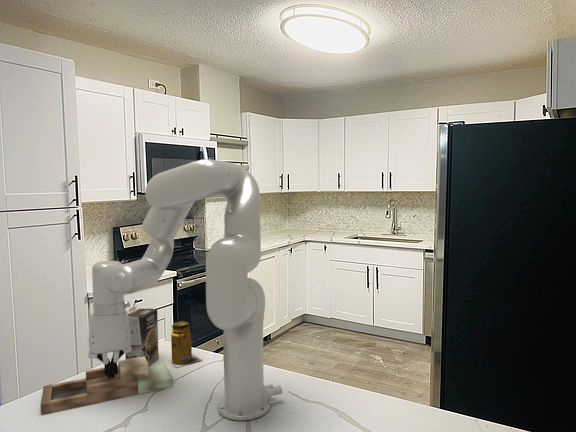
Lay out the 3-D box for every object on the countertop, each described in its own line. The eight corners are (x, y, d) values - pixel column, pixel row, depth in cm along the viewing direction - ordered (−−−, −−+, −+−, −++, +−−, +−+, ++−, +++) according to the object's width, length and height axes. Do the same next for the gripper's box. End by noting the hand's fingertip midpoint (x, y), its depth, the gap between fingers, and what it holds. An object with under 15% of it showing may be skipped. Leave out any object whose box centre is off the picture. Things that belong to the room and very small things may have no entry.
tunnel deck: (165, 371, 125) (164, 356, 125) (173, 386, 116) (172, 370, 115) (43, 395, 111) (43, 378, 111) (41, 415, 102) (40, 396, 101)
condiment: (167, 360, 134) (166, 322, 133) (192, 354, 139) (191, 317, 138) (176, 368, 128) (175, 328, 127) (202, 361, 133) (201, 323, 132)
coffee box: (144, 370, 127) (142, 316, 126) (124, 368, 128) (123, 315, 127) (159, 358, 135) (158, 308, 135) (141, 357, 137) (139, 307, 136)
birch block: (144, 370, 121) (144, 356, 120) (148, 378, 115) (148, 363, 115) (118, 374, 118) (118, 360, 117) (120, 383, 112) (120, 368, 112)
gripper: (136, 301, 119) (138, 365, 120) (77, 308, 112) (79, 376, 114) (140, 308, 113) (142, 376, 114) (77, 316, 106) (80, 388, 107)
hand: (111, 376), depth 114 cm, fingers closed
